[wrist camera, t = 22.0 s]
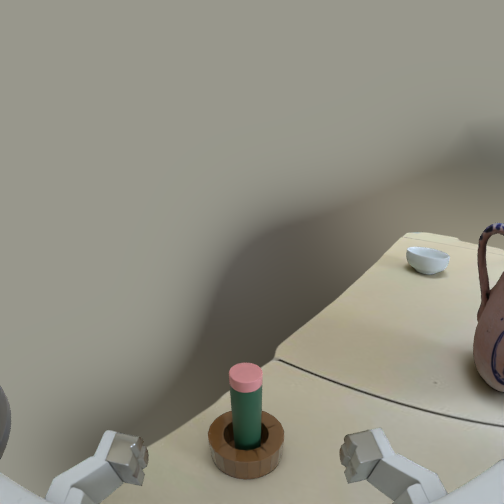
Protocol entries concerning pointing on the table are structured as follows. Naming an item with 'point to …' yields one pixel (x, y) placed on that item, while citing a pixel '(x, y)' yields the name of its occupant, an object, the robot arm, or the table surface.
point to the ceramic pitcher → (490, 320)
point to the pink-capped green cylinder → (246, 405)
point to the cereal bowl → (427, 259)
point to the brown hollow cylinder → (241, 460)
